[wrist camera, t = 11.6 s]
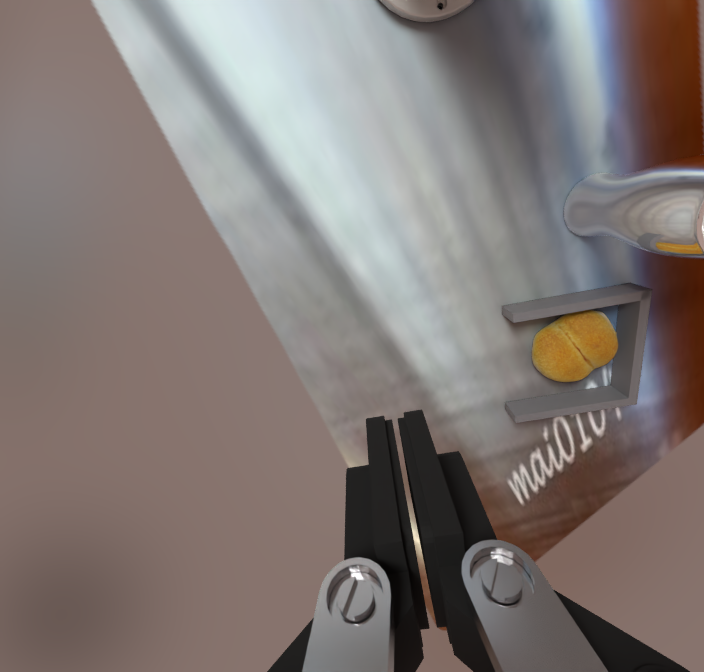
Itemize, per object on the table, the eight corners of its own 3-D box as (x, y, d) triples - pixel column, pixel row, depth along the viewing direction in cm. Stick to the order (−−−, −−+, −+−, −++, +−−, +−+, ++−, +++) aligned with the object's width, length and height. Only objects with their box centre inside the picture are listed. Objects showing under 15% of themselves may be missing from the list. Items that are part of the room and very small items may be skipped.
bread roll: (515, 341, 41) (532, 356, 37) (585, 294, 38) (610, 304, 35) (549, 388, 43) (567, 406, 39) (616, 346, 41) (643, 360, 37)
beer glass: (642, 201, 35) (838, 202, 21) (584, 254, 37) (727, 287, 23) (603, 151, 33) (786, 115, 19) (544, 209, 35) (672, 215, 21)
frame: (501, 305, 39) (513, 314, 36) (630, 282, 38) (652, 289, 35) (505, 408, 44) (515, 423, 41) (618, 390, 43) (636, 404, 40)
